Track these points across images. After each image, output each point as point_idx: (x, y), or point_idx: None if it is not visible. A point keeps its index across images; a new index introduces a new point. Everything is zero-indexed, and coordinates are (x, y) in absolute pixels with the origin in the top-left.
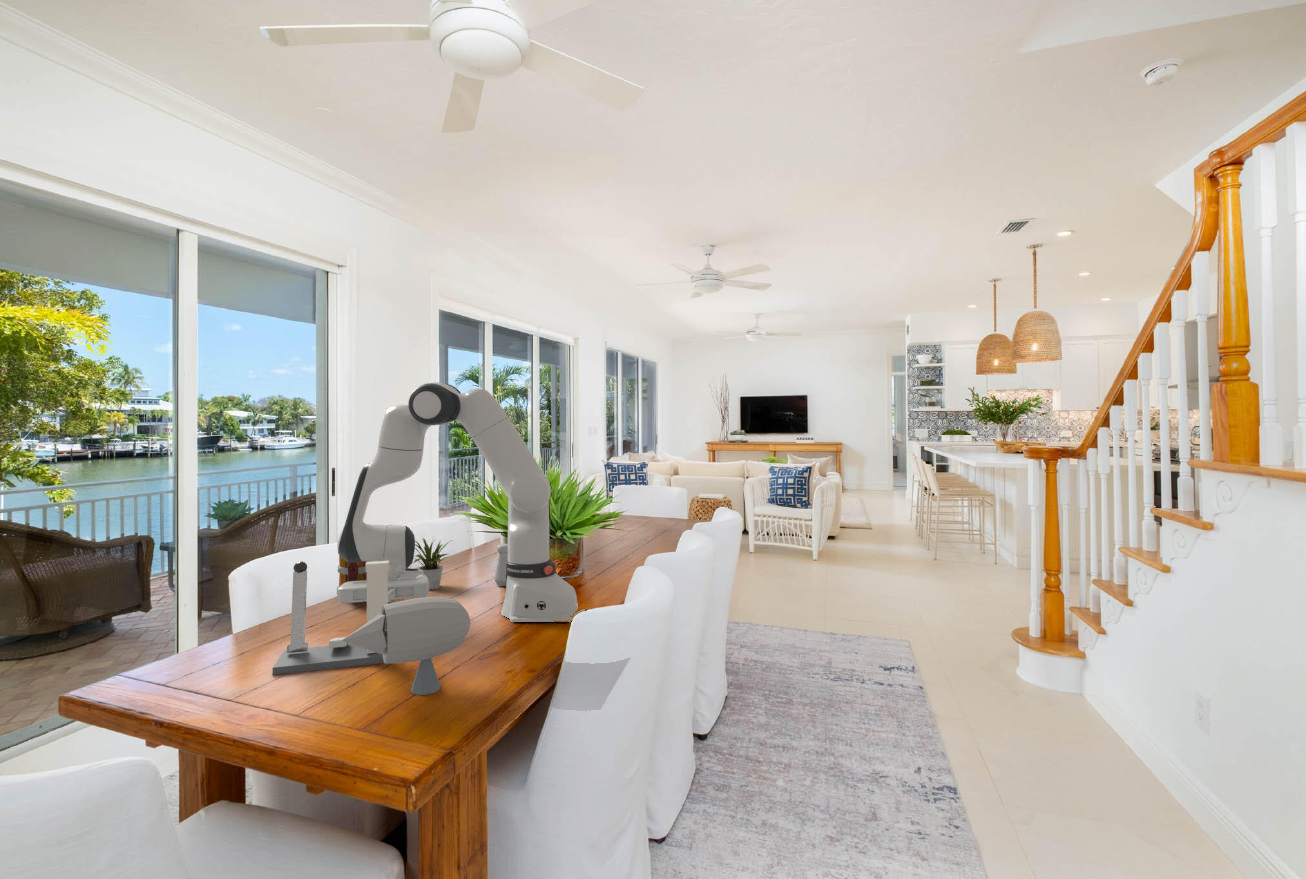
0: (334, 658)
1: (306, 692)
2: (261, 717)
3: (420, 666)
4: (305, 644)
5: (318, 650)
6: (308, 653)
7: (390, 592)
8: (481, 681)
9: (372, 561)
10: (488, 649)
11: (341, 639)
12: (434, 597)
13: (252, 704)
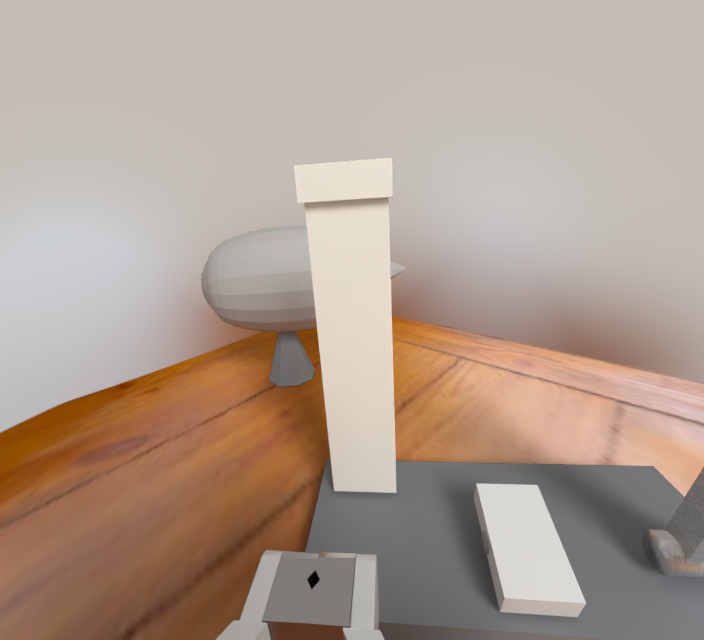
0: (489, 480)
1: (483, 398)
2: (509, 360)
3: (297, 337)
4: (655, 530)
5: (610, 578)
6: (630, 553)
7: (228, 631)
8: (212, 376)
9: (366, 160)
10: (75, 481)
11: (501, 505)
12: (254, 233)
13: (557, 385)
